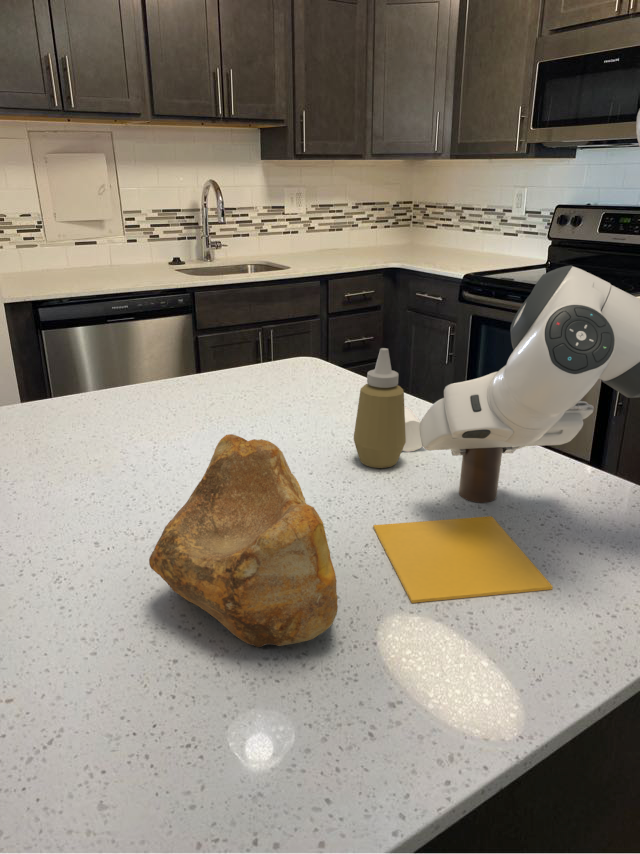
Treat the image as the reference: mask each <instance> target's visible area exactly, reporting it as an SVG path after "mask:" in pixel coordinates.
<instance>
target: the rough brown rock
mask: <svg viewBox="0 0 640 854" xmlns="http://www.w3.org/2000/svg"><path fill="white" fill-rule="evenodd" d="M148 562H149V564H148V565H149V567H150V569H151V570H152V571H153V572H155V573H156V574H157V575H159V576H160V578H161V579H162V581H164V582H165V583H166V584H167V585H168V586H169V587H170V589H171V590H172V591H173V592H174V593H176V594H177V595H179V596H180V597H182V598H183V599H184V600H186V601H188V602H189V603H191V604H193V605H195V606H197V607H199V608H200V609H201V610H203V611H204V612H206V613H207V614H209V615H210V616H211V617H213V618H214V619H215V620H216V621H218V622H219V623H220V624H221V625H222V626H223V627H225V628H226V629H227V630H228V631H229V632H230V633H231V634H232V635H234V636H235V637H236V638H238V639H239V640H241V641H242V642H244V643H245V644H248V645H250V646H254V647H256V648H260V647H263V646H265V645H273V646H277V647H283V646H289V645H294V644H299V643H304V642H308V641H312V640H313V639H315V638H316V637H318V636H320V635H321V634H323V633H325V632H326V631H327V630H328V629H330V627H331V626H332V625H333V624H334V621H335V619H336V617H337V614H338V601H339V600H338V599H339V598H338V593H337V576H336V572H335V567H334V565H333V564H334V563H333V561H332V558H331V551H330V547H329V543H328V539H327V535H326V530H325V525H324V521H323V520H322V518H321V516H320V515H319V514H318V512H317V510H316V508H315V507H314V506H312V505H310V504H308V503H307V502H306V498H305V496H304V493H303V490H302V487H301V485H300V482H299V481H298V479H297V478H296V476H295V475H294V473H292V471H291V469H290V466H289V464H288V462H287V460H286V458H285V455H284V453H283V451H282V450H281V449H280V448H279V446H278V445H276V444H275V443H273V442H272V441H270V440H265V439H263V438H262V439H250V440H248V439H246V438H243V437H241V436H239V435H236V434H234V433H233V434H232V433H231V434H230V433H229V434H226V435H224V436H223V437H222V438H220V440H219V441H218V443H217V444H216V447H215V448H214V451H213V454H212V457H211V459H210V461H209V464H208V466H207V468H206V470H205V472H204V474H203V476H202V478H201V479H200V481H199V482H198V483H197V485H196V486H195V488H194V490H193V491H192V492H191V494H190V496H189V498H188V499H187V501H186V502H185V503H184V505H183V506H182V507H181V508H180V509H179V510H177V512H176V514H175V515H174V516H173V517H172V518H171V520H170V521H169V522H168V523H167V524H166V525H165V527H164V528H163V531H162V533H161V535H160V537H159V538H158V540H157V542H156V544H155V546H154V547H153V550H152V552H151V554H150V556H149V559H148Z"/></svg>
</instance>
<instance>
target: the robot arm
mask: <svg viewBox="0 0 640 854" xmlns="http://www.w3.org/2000/svg"><path fill="white" fill-rule="evenodd" d="M635 123H636V124H635V128H636V129H635V131H636V132H635V133H636V138H637V142H638V147H640V109H638V112H637V115H636V122H635ZM509 331H510V344H511V347H512V350H513V351H512V352H511V354H510V355H509V357H508V359H507V361H506V364H505V365H504V366H503V367H501V368H500V369H499V370H498V371H493V372H491V373H489V374H486V375H483V376H480V377H477V378H473V379H469V380H464V381H458V382H454V383H450V384H447V385H446V386H445V387H444V389H443V397H442V398H439V399H438V400H436V401H435V402H434V403H433V404H432V405H431V406H430V407H429V409H428V410H427V411H426V412H425V414H424V415H423V417H422V418H421V419H420V421H421V422H420V426H419V429H420V437H421V442H422V447H423V448H424V449H425V450H427V451H448V450H449V451H450V453H451V456H452V457H455V456H457V457H460V456H463V455H464V453H465V452H466V449H474V448H497V447H503V449H502V454H514V452H515V451H517V450H520V449H522V448H525V447H538V446H539V447H541V446H561V445H565V444H567V443H570V442H572V440H573V439H574V438H576V436H577V435H578V434H579V432H580V431H582V429H583V427H584V420H585V419H587V418H588V417H589V416H591V415H592V414H593V412H594V411H595V410H594V408H595V407H594V405H593V404H589V403H588V401H583V400H582V399H583V398H585V396H586V395H587V394H588V393H589V392H590V390H592V388H593V387H594V386H595V384H596V383H597V382H598V380H601V382H602V383H604V384H606V385H607V386H609V387H610V388H612V389H613V390H615V391H617V392H618V393H619V394H621V395H623V396H624V397H626V398H629V399H632V398H633V399H634V398H640V298H639V297H637V296H634V295H632V294H630V293H629V292H627V291H624V290H622V289H620V288H619V287H616V286H615V285H612V284H611V282H608V281H606V280H604V279H602V278H601V277H599V276H596V275H594V274H592V273H591V272H587V271H586V270H584V269H582V268H579V267H576V266H573V265H565V266H561V267H557V268H555V269H552V270H550V271H548V272H545V273H543V274H542V275H541V276H540V277H539V279H537V282H536V283H535V285H534V287H533V288H532V290H531V292H530V294H528V296H527V297H526V298H525V300H524V302H522V304H521V306H520V307H519V309H518V310H517V312H516V313H515V315H514V317H513V319H512V322H511V324H510V329H509Z"/></svg>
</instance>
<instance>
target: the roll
mask: <svg viewBox="0 0 640 854" xmlns="http://www.w3.org/2000/svg"><path fill="white" fill-rule="evenodd" d="M404 409H405V435H406V443H405V445H404V447H403V450H402V452H407V453H409V452H414V451H417V450H419V449H421V448H422V447H423V446H422V442H421V437H420V429H419V426H420V422H421V419H419V418H418V416H417V415H416V413H415V412H414V411H413V410H412V409H410V407H408V406H405V405H404Z"/></svg>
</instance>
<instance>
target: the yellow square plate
mask: <svg viewBox="0 0 640 854" xmlns="http://www.w3.org/2000/svg"><path fill="white" fill-rule="evenodd" d="M372 528H373V530H374V532H375V534H376V536H377V538H378V540H379V543H380V544H381V546H382V548H383V550H384V552H385V554H386V556H387V558H388V560H389V561H390V563H391V566H392V567H393V568H392V569H394V572H395V573H396V576H397V578H398V580H399V581H400V583H401V586H402V587H403V589H404V591H405V593H406V595H407V598H408V599H409V602H410V603H411V604H417V603H428V602H437V601H447V600H457V599H468V598H479V597H488V596H498V595H509V594H520V593H529V592H539V591H549V590H550V591H551V590H553V584H551V583H550V581H549V580H548V579H547V578H546V577H545V575H543V574H542V572H541V571H540V570H539V569H538V568H537V566H536V565H535V564H534V563H533V562H532V561H531V560H530V558H529V557H528V556H527V555H526V554H525V553H524V552H523V550H522V549H521V548H520V547H519V546H518V545H517V543H516V542H515V541H514V540H513V539H512V537H511V536H510V535H509V534H508V532H506V531H505V529H504V528H503V527H502V526H501V525H500V523H499V522H497V520H496V519H495V518H494V517H493V516H492V515H487V516H475V517H462V518H449V519H438V520H437V519H436V520H423V521H422V520H421V521H411V522H400V523H399V522H397V523H384V524H373V526H372Z"/></svg>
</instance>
